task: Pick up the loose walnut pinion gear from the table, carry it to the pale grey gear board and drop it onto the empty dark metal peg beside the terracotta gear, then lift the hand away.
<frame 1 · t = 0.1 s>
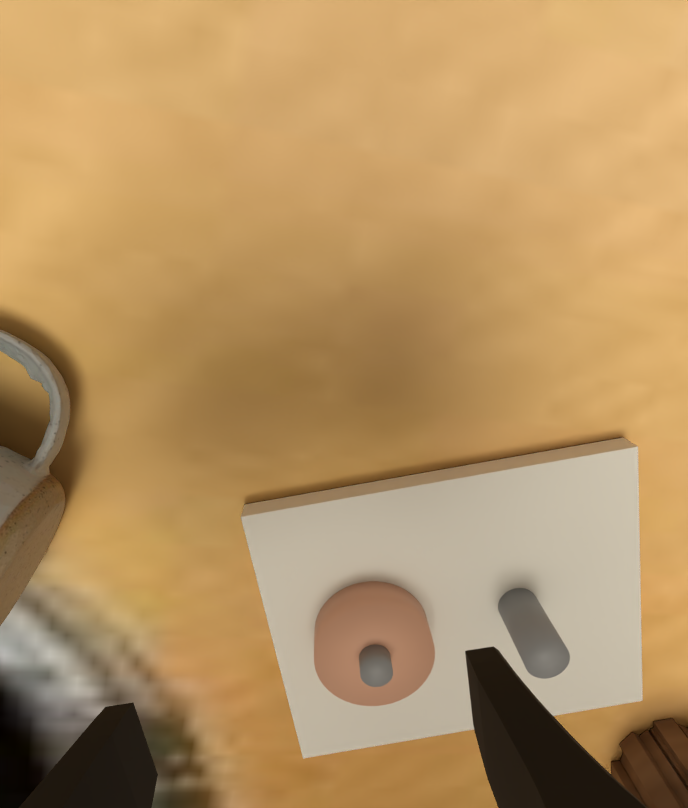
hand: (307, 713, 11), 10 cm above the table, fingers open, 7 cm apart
gear board: (450, 599, 23), on the table
walnut pinion gear: (663, 760, 26), on the table
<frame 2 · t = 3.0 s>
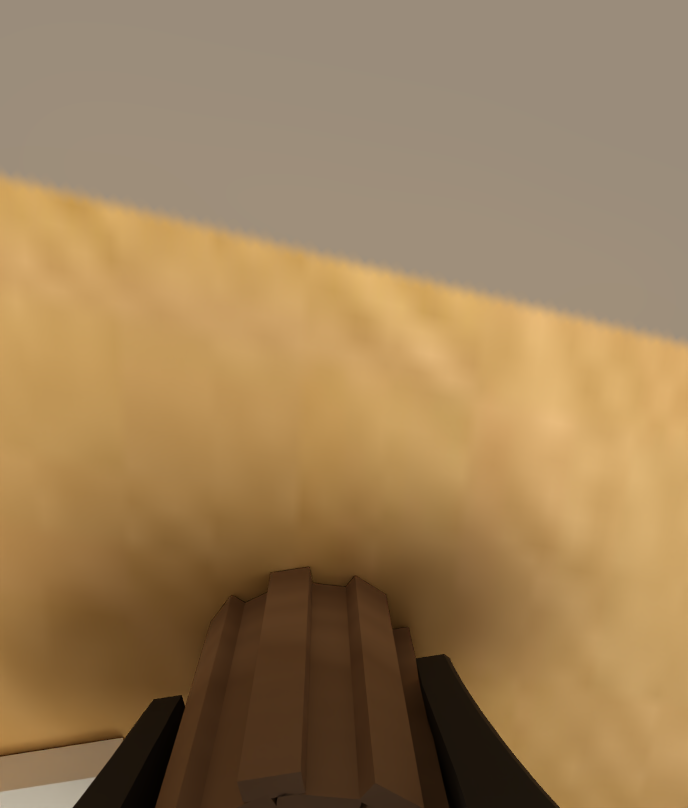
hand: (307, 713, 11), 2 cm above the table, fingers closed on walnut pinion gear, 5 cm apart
walnut pinion gear: (308, 658, 13), on the table, touching gripper
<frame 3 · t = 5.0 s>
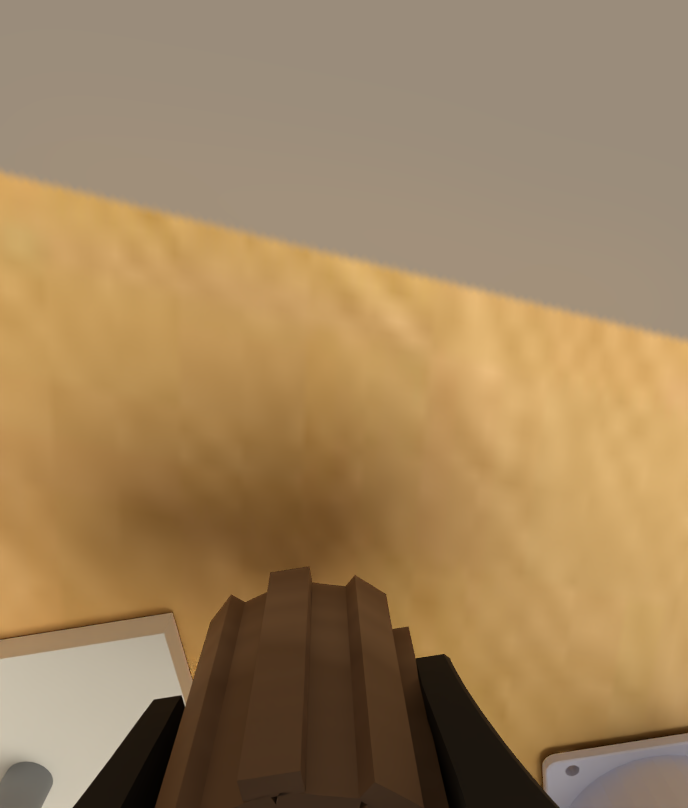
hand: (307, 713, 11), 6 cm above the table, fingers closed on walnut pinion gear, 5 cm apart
gear board: (64, 803, 20), on the table
walnut pinion gear: (308, 658, 13), point 5 cm above the table, touching gripper
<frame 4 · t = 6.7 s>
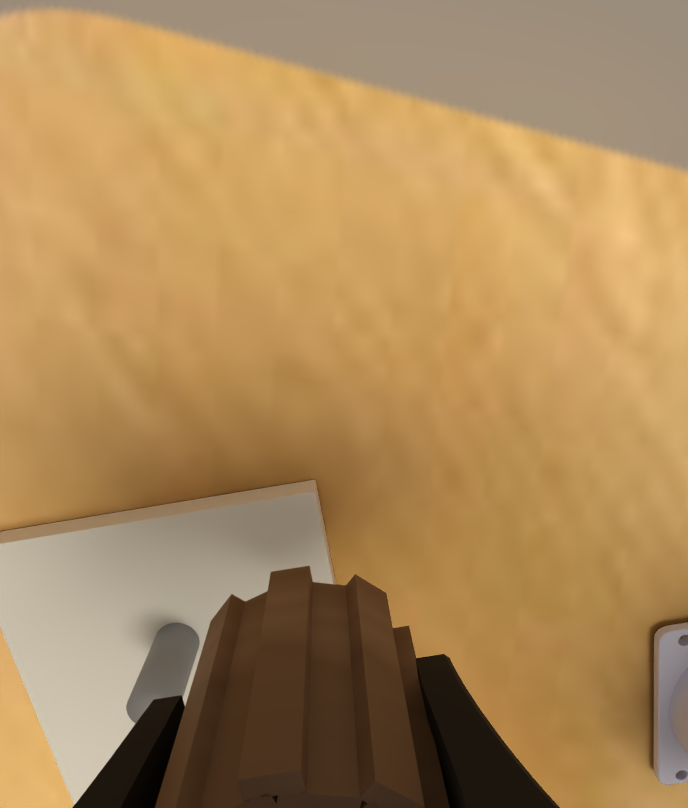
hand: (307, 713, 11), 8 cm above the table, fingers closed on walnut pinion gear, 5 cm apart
gear board: (199, 675, 21), on the table
walnut pinion gear: (309, 657, 13), point 7 cm above the table, touching gripper
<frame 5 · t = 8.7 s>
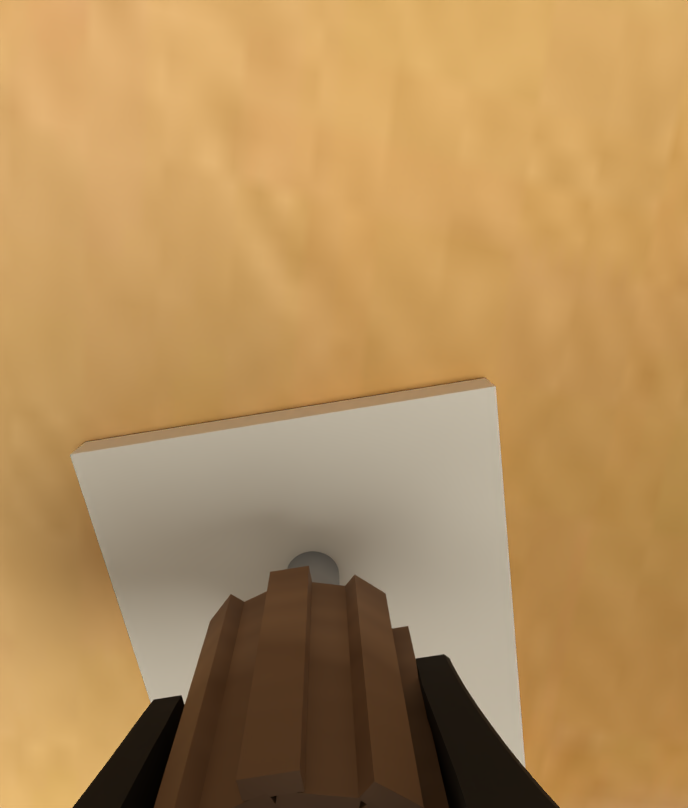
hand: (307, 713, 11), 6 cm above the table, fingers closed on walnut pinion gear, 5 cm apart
gear board: (326, 620, 18), on the table
walnut pinion gear: (308, 657, 13), point 4 cm above the table, touching gripper
when the fingers open (4 cm above the table, at t = 10.3 s): walnut pinion gear drops 1 cm, resting on gear board.
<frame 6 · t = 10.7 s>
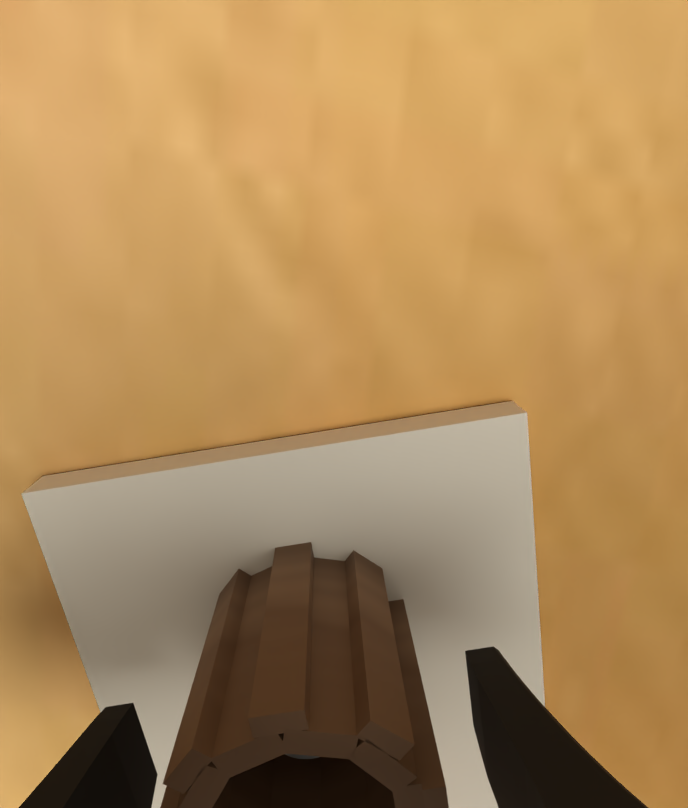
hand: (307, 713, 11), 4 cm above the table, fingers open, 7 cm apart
gear board: (325, 677, 16), on the table
walnut pinion gear: (310, 628, 14), point 1 cm above the table, touching gear board
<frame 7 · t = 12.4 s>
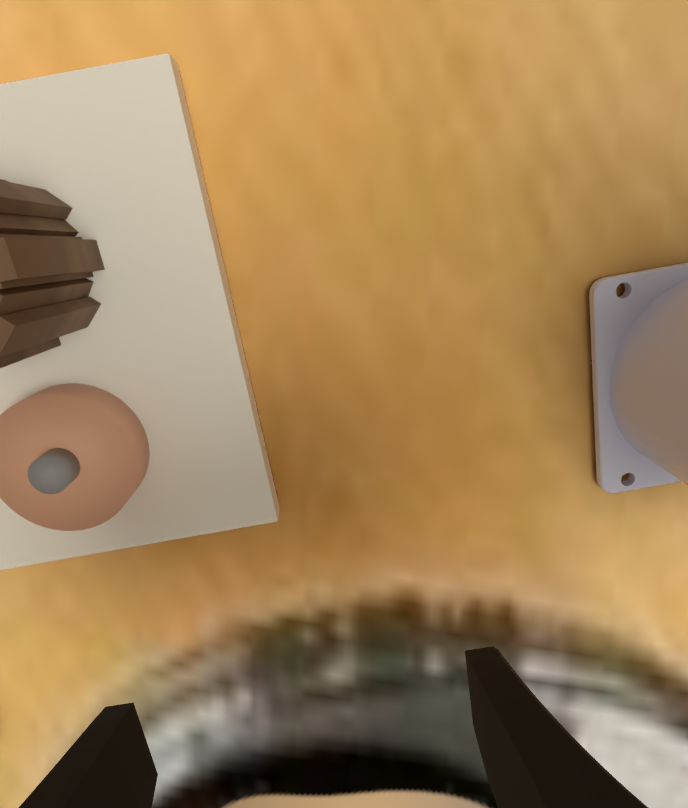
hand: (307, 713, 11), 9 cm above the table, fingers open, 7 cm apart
gear board: (61, 343, 18), on the table
walnut pinion gear: (21, 269, 17), point 1 cm above the table, touching gear board
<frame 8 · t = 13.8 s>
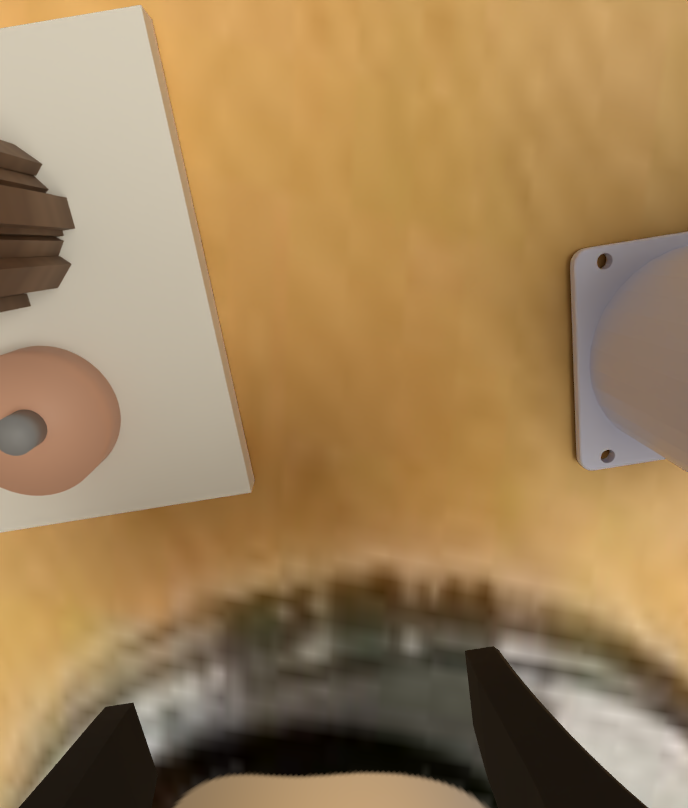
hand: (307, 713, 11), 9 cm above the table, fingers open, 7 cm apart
gear board: (33, 306, 18), on the table
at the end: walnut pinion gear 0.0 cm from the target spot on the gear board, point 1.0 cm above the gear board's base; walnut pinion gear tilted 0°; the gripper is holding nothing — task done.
